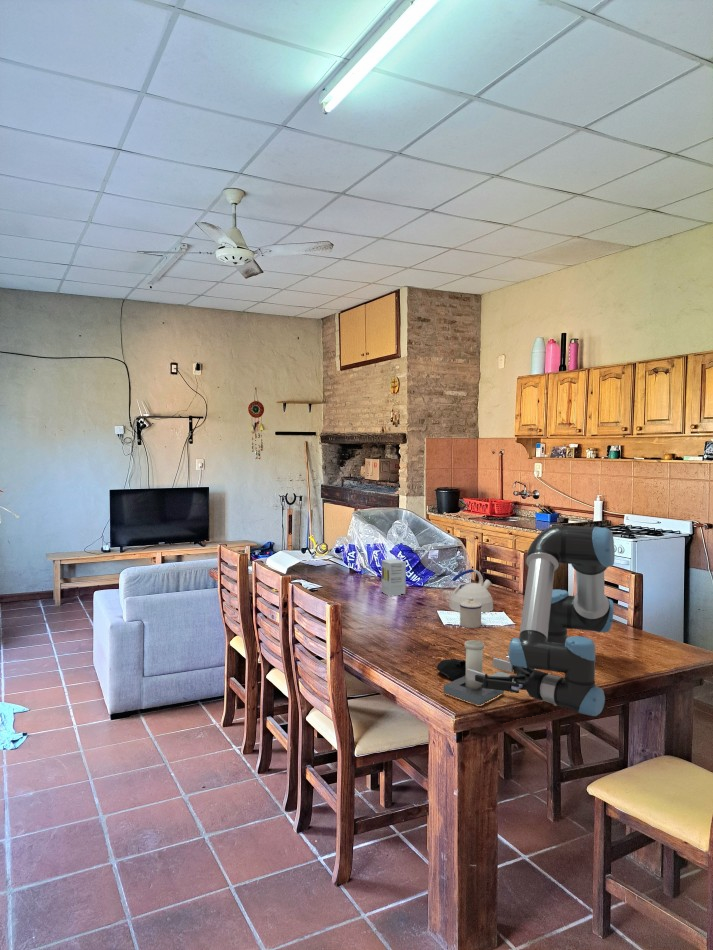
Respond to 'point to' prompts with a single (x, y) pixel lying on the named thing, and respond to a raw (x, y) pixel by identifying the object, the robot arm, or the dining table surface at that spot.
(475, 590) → the kettle
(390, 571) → the supplement box
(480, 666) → the cream upright pillar
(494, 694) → the housing
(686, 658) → the dining table surface
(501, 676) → the mat
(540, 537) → the robot arm
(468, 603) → the teacup with lid
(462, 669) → the rock
